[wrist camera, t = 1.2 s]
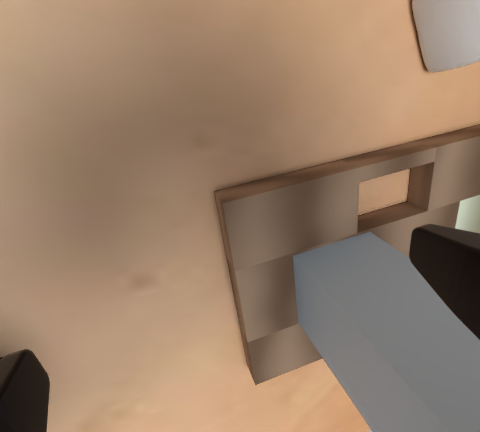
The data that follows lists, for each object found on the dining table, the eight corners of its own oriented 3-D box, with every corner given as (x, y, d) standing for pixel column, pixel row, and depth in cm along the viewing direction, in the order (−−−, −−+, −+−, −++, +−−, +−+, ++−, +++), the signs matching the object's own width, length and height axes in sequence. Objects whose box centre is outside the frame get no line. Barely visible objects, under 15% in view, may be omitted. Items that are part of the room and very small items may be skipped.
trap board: (247, 364, 27) (282, 449, 21) (214, 191, 20) (252, 245, 14) (471, 279, 32) (550, 327, 26) (508, 117, 25) (629, 132, 19)
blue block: (298, 321, 24) (447, 542, 13) (292, 255, 22) (476, 462, 10) (366, 296, 26) (557, 477, 14) (370, 231, 23) (608, 390, 12)
